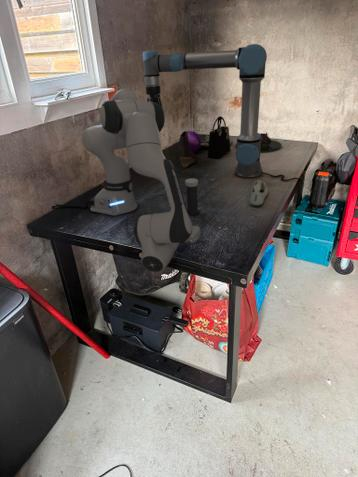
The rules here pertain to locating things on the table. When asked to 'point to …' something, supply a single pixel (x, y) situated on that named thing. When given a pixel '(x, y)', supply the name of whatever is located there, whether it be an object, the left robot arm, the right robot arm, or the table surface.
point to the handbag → (219, 140)
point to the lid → (191, 182)
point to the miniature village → (268, 144)
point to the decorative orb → (193, 141)
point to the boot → (186, 151)
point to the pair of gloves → (205, 143)
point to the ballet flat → (258, 193)
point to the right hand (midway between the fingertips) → (156, 128)
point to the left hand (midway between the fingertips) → (178, 222)
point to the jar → (192, 200)
